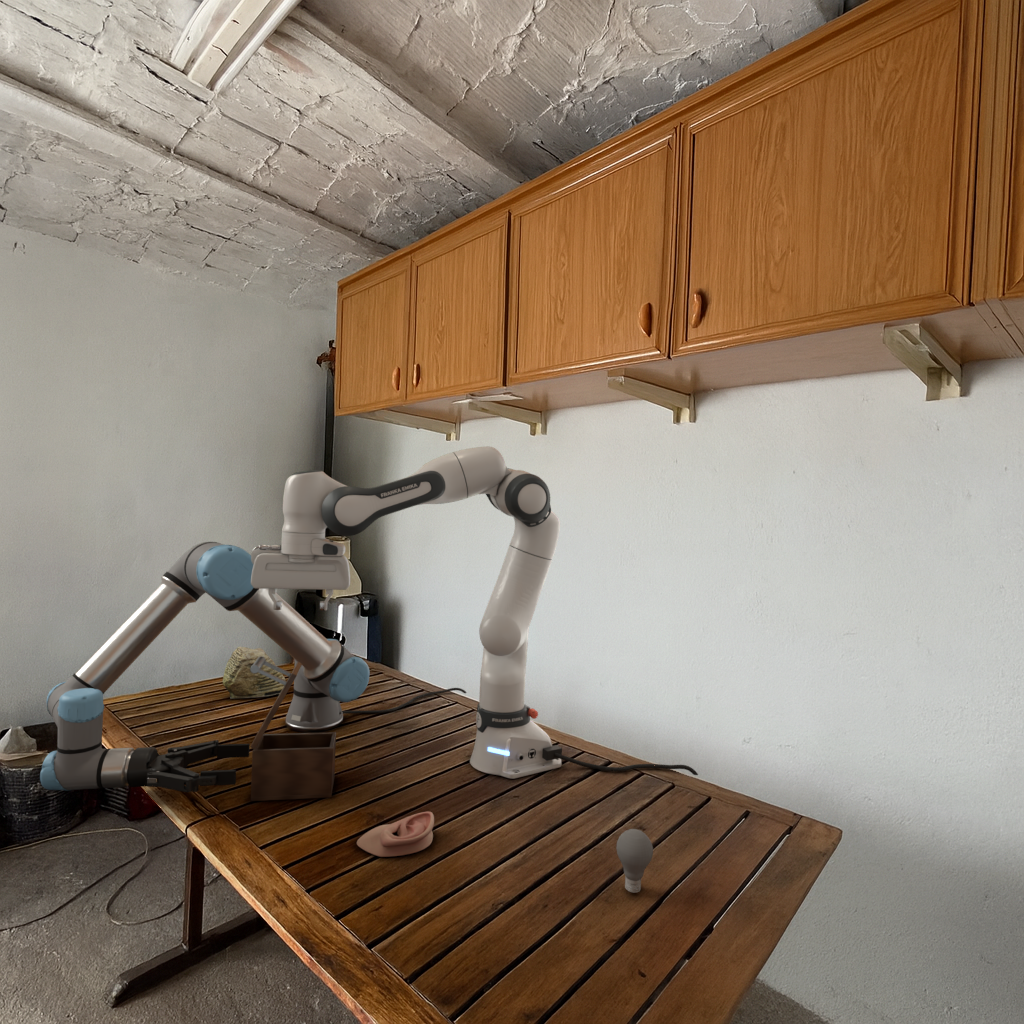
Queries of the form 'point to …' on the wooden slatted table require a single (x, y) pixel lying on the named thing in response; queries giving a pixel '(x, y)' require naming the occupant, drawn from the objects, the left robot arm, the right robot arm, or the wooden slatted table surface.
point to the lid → (287, 684)
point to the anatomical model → (399, 836)
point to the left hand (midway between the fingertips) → (242, 763)
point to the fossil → (250, 675)
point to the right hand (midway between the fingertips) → (300, 609)
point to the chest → (293, 766)
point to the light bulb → (634, 857)
